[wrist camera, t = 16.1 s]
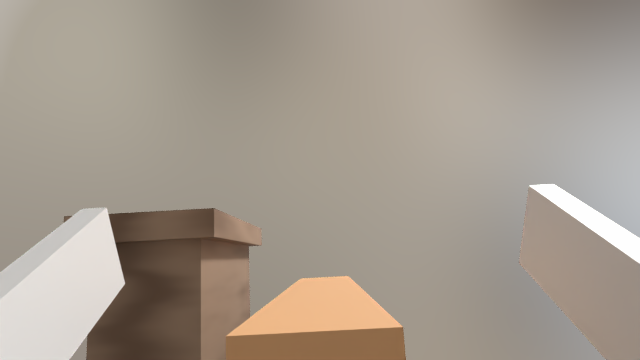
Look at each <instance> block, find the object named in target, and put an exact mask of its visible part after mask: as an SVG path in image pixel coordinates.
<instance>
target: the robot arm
mask: <svg viewBox="0 0 640 360" xmlns="http://www.w3.org/2000/svg"><path fill="white" fill-rule="evenodd" d="M519 263H520V265H522V267H523V268H524V269H525V270H526V271H527V272H528V273H529V275H530V276H531V277H532V278H533V279H534V280H535V281H536V282H537V284H538V285H539V286H540V287H541V288H542V289H543V290H544V291H545V292H546V293H547V295H548V296H549V297H550V298H551V299H552V300H553V301H554V302H555V303H556V305H557V306H558V307H559V308H560V309H561V310H562V311H563V312H564V314H565V315H566V316H567V317H568V318H569V319H570V320H571V321H572V322H573V323H574V325H575V326H576V327H577V328H578V329H579V330H580V331H581V332H582V334H583V335H584V336H585V337H586V338H587V339H588V340H589V341H590V342H591V344H592V345H593V346H594V347H595V348H596V349H597V350H598V351H599V352H600V354H601V355H602V356H603V357H604V358H605V359H606V360H640V238H638V237H637V236H635V235H633V234H632V233H630V232H629V231H627V230H626V229H624V228H622V227H621V226H619V225H617V224H616V223H614V222H613V221H611V220H609V219H608V218H606V217H605V216H603V215H602V214H600V213H599V212H597V211H595V210H594V209H592V208H591V207H589V206H587V205H585V204H584V203H583V202H581V201H580V200H578V199H576V198H575V197H573V196H571V195H570V194H568V193H567V192H565V191H564V190H562V189H560V188H559V187H557V186H556V185H554V184H547V185H530V186H529V189H528V197H527V204H526V212H525V220H524V228H523V236H522V243H521V250H520V258H519ZM124 285H125V281H124V277H123V273H122V269H121V265H120V261H119V257H118V252H117V248H116V244H115V240H114V236H113V232H112V228H111V224H110V219H109V215H108V211H107V208H91V209H81V210H80V211H79V212H77V213H76V214H75V215H74V216H72V217H71V218H70V219H68V220H67V221H66V222H64V223H63V224H62V225H61V226H59V227H58V228H57V229H56V230H54V231H53V232H52V233H50V234H49V235H48V236H46V237H45V238H44V239H43V240H41V241H40V242H39V243H37V244H36V245H35V246H34V247H32V248H31V249H30V250H28V251H27V252H26V253H25V254H23V255H22V256H21V257H19V258H18V259H17V260H16V261H14V262H13V263H12V264H10V265H9V266H8V267H7V268H5V269H4V270H3V271H2V272H0V360H69V359H70V358H71V357H72V355H73V354H74V353H75V351H76V350H77V348H78V347H79V346H80V344H81V343H82V342H83V340H84V339H85V338H86V336H87V335H88V333H89V332H90V331H91V329H92V328H93V327H94V325H95V324H96V323H97V321H98V320H99V319H100V317H101V316H102V314H103V313H104V312H105V310H106V309H107V308H108V306H109V305H110V304H111V302H112V301H113V300H114V298H115V297H116V295H117V294H118V293H119V291H120V290H121V289H122V287H123V286H124Z"/></svg>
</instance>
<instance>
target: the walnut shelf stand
mask: <svg viewBox="0 0 640 360" xmlns="http://www.w3.org/2000/svg"><path fill="white" fill-rule="evenodd" d="M108 215H109V219H110V224H111V228H112V232H113V236H114V240H115V244H116V248H117V252H118V257H119V261H120V265H121V269H122V273H123V277H124V281H125V285H124V286H123V287H122V289H121V290H120V291H119V293H118V294H117V295H116V297H115V298H114V300H113V301H112V302H111V304H110V305H109V306H108V308H107V309H106V310H105V312H104V313H103V314H102V316H101V317H100V319H99V320H98V321H97V323H96V324H95V325H94V327H93V328H92V329H91V331H90V332H89V333H88V336H87V337H88V338H87V359H86V360H226V336H227V335H228V334H229V333H231V332H232V331H233V330H234V329H236V328H237V327H238V326H240V325H241V324H242V323H244V322H245V321H246V320H247V319H249V318H250V290H249V246H259V245H260V246H261V245H262V240H261V228H258V227H256V226H254V225H251V224H249V223H247V222H245V221H242V220H240V219H238V218H235V217H233V216H231V215H228V214H226V213H224V212H222V211H219V210H217V209H215V208H211V209H191V210H173V211H156V212H136V213H118V214H108ZM71 217H72V216H65V217H64V222H66V221H67V220H68V219H70V218H71Z"/></svg>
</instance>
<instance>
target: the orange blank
mask: <svg viewBox="0 0 640 360" xmlns="http://www.w3.org/2000/svg"><path fill="white" fill-rule="evenodd" d="M226 360H406V357H405V345H404V333H403V327H402V326H401V325H400V324H399V323H398V322H397V321H396V320H395V319H394V318H393V317H392V316H391V315H389V314H388V313H387V312H386V311H385V310H384V309H383V308H382V307H381V306H380V305H379V304H378V303H377V302H376V301H375V300H373V299H372V298H371V297H370V296H369V295H368V294H367V293H366V292H365V291H364V290H363V289H362V288H360V287H359V286H358V285H357V284H356V283H355V282H354V281H353V280H352V279H351V278H350V277H349V276H341V277H320V278H304V279H300V280H299V281H297V282H296V283H294V284H293V285H292V286H290V287H289V288H288V289H286V290H285V291H284V292H283V293H281V294H280V295H279V296H277V297H276V298H275V299H273V300H272V301H271V302H270V303H268V304H267V305H266V306H264V307H263V308H262V309H260V310H259V311H258V312H257V313H255V314H254V315H253V316H251V317H250V318H249V319H247V320H246V321H245V322H244V323H242V324H241V325H240V326H238V327H237V328H236V329H234V330H233V331H232V332H231V333H229V334H228V335H227V336H226Z"/></svg>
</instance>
